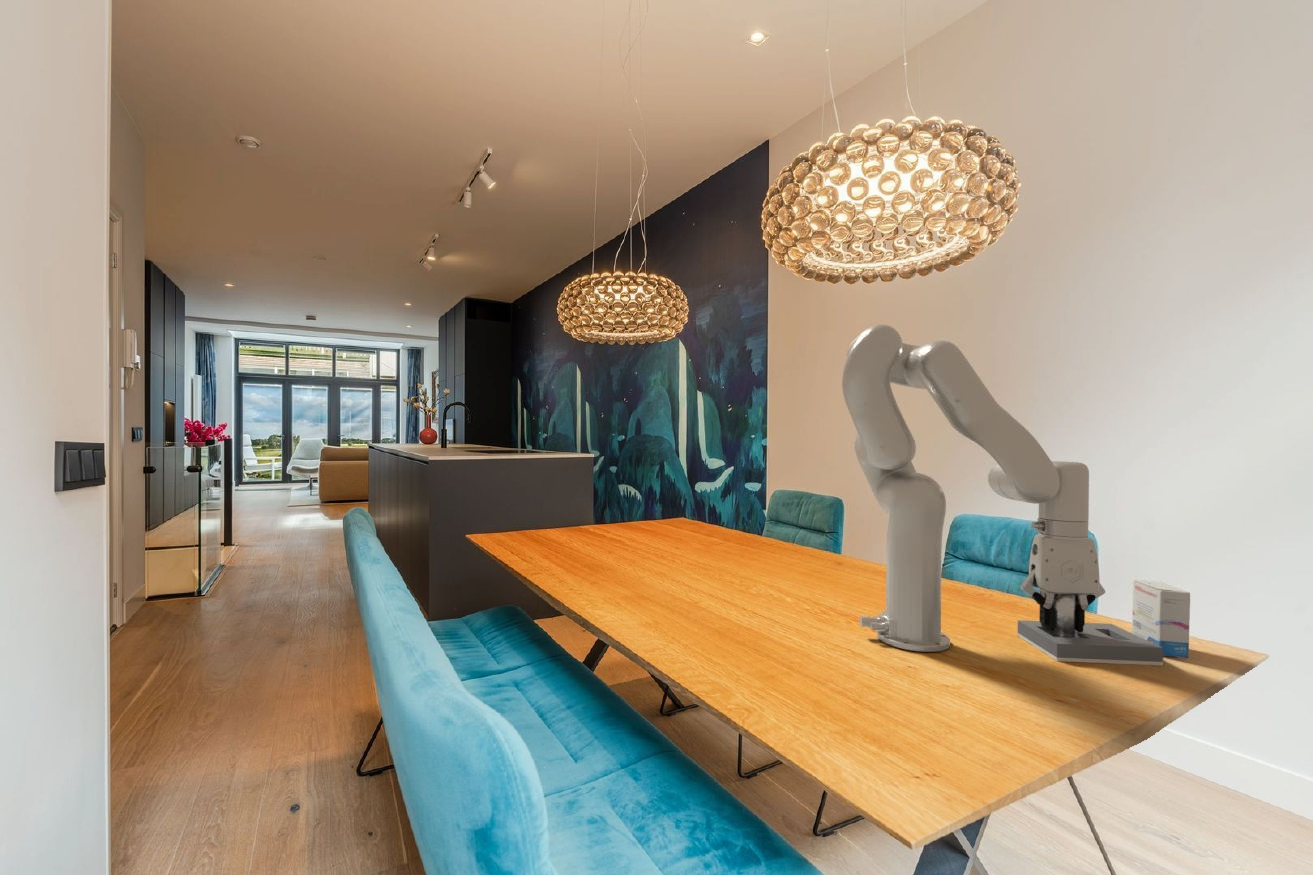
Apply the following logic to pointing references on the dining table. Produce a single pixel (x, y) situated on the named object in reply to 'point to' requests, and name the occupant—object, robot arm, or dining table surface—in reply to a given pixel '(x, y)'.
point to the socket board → (1093, 644)
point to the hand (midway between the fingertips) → (1061, 628)
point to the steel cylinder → (1064, 615)
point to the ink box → (1162, 616)
